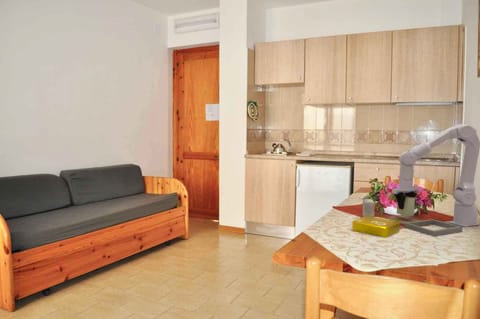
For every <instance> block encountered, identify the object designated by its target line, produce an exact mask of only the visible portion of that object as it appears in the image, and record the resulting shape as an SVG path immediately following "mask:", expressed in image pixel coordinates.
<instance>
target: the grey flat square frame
mask: <svg viewBox="0 0 480 319" xmlns="http://www.w3.org/2000/svg"><path fill="white" fill-rule="evenodd" d="M423 220H424V221H416V222H409V223H405V226H404V228H405V229H407V230H411V231H415V232H418V233H420V234H424V235H427V236H431V237H438V236H444V235H451V234H456V233H463V230H464V229H463V227H464V226H460V225H456V224H452V223H449V222H447V221H441V220H436V219H434V218H432V219H423ZM431 225H434V226H437V227H440V228H442V229H436V230H433V229H430V228H425V226H431ZM423 226H424V227H423Z"/></svg>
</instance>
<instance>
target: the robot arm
mask: <svg viewBox="0 0 480 319" xmlns="http://www.w3.org/2000/svg"><path fill="white" fill-rule="evenodd" d="M453 139H456V140H458V141H460V142H461V143H462V144H463V145H464V146H465V149H464V153H463V159H462V160H463V161H462V166H461V172H460V177H459V182H457V184H456V186H455V189H454V191H453V193H452V197H453V199H454V203H453V204H454V206H453V220H452V221H451V220H450V221H448V223H449V224H453V225H457V226H461V227H472V226H478V225H479V223H478V216H479V215H478V214H479V212H478V211H479V210H478V207H477V206H476V205H475V204H474V203H475V202H476V200H477V195H476V187H475V185H474V181H475V175H476V170H477V165H478V158H479V154H480V139H479V136H478V133H477V129H476V128H474V127H473V125H471V124H467V123H464V124H459V123H458V124H455V125H453V126H451V127H448V128H447V129H445V130H444V131H442V132H441V133H439V134H438V135H436V136H434V137H433V138H431V139H430V140H428V141H420V142H419V141H418V142H417V143H416V145H415V146H413V147H412V148H408V149H407V151H404V152H402V153H400V155H399V157H398V162H399V163H400V165H399V178H398V179H399V180H398V186H397V188H393V189H391V193H392V194H393V196H394V197H395V199H396V204H397V203H398V207H399V209H404V202H405V199H406V196H408V197H412V198H415V199H416V197H417V196H418V193H419V192H420V187H418V186H417V187H416V186H414V171H415V169H414V168H415V167H414V164H416V162H417V161H419V160H420V159H422V158H423V157H425V156H427V155H428V154H430V153H431V152H432V148H435V147H436V146H439V145H440V144H443V142H446V141H448V140H453Z"/></svg>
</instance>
